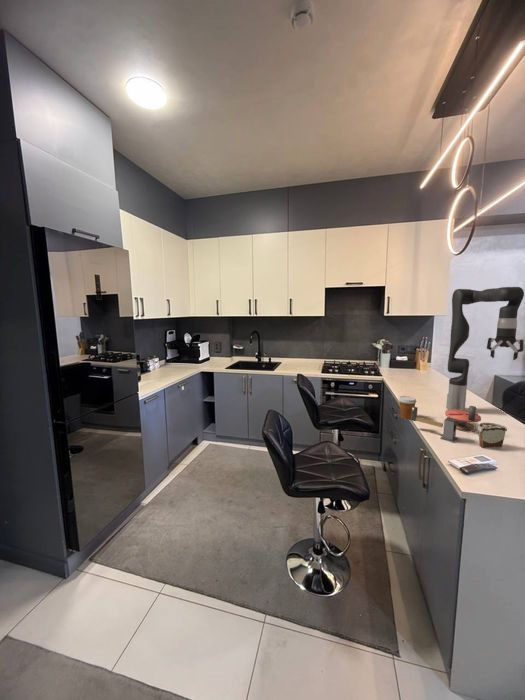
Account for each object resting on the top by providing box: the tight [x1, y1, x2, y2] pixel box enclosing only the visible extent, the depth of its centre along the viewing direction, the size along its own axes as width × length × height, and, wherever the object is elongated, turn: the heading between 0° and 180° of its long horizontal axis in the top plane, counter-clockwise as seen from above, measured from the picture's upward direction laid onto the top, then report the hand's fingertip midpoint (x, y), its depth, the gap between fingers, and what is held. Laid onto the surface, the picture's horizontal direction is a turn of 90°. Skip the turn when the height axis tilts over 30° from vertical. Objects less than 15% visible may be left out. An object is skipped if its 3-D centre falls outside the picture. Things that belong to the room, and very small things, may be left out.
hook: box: [410, 406, 444, 428], centre depth 150 cm, size 15×3×7 cm, turn 42°
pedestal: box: [456, 420, 475, 432], centre depth 156 cm, size 11×11×2 cm
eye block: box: [440, 416, 459, 443], centre depth 142 cm, size 6×6×10 cm
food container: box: [477, 422, 508, 449], centre depth 136 cm, size 12×6×10 cm, turn 92°
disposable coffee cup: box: [398, 395, 417, 420], centre depth 171 cm, size 10×10×12 cm
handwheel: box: [444, 405, 482, 425], centre depth 155 cm, size 16×16×12 cm
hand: (503, 358), depth 147 cm, fingers open, 8 cm apart
